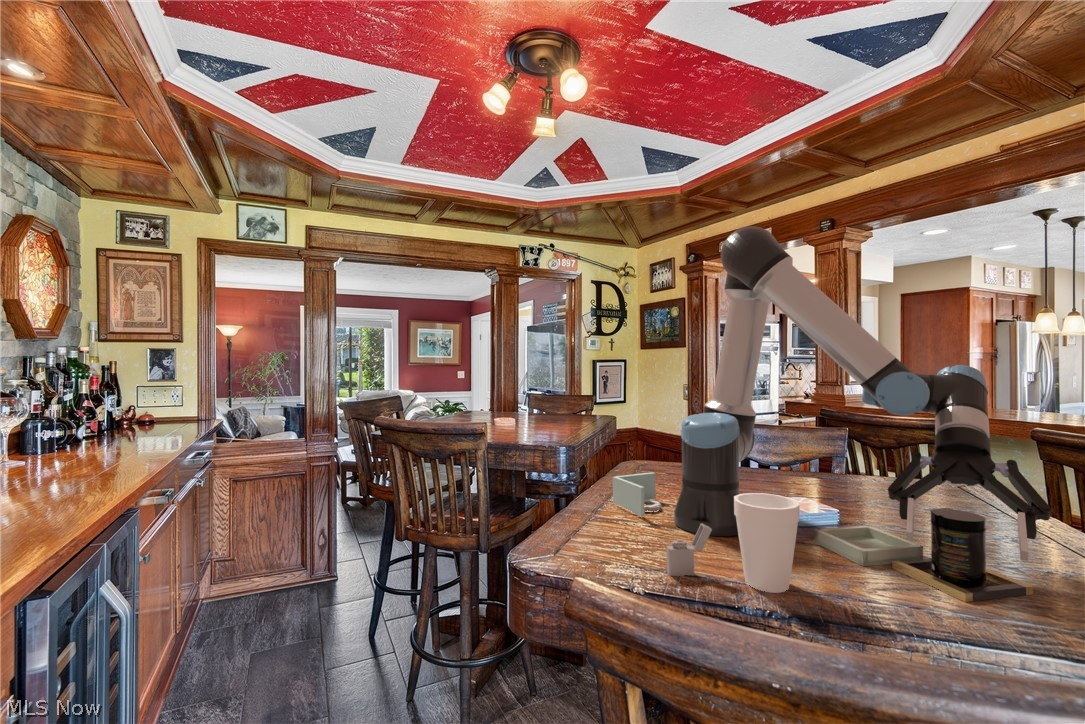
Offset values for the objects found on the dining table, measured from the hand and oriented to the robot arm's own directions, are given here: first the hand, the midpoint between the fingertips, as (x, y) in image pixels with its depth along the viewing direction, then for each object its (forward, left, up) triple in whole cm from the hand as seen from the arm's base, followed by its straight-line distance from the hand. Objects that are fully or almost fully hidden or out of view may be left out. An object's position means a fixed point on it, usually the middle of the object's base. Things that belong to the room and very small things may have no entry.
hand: (963, 545), depth 77 cm
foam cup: (-30, +6, -6) cm, 31 cm away
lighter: (-40, +12, -6) cm, 42 cm away
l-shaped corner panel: (-33, +48, -7) cm, 59 cm away
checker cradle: (0, +1, -6) cm, 6 cm away
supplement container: (0, +1, -6) cm, 6 cm away
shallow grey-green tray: (-4, +14, -6) cm, 16 cm away
